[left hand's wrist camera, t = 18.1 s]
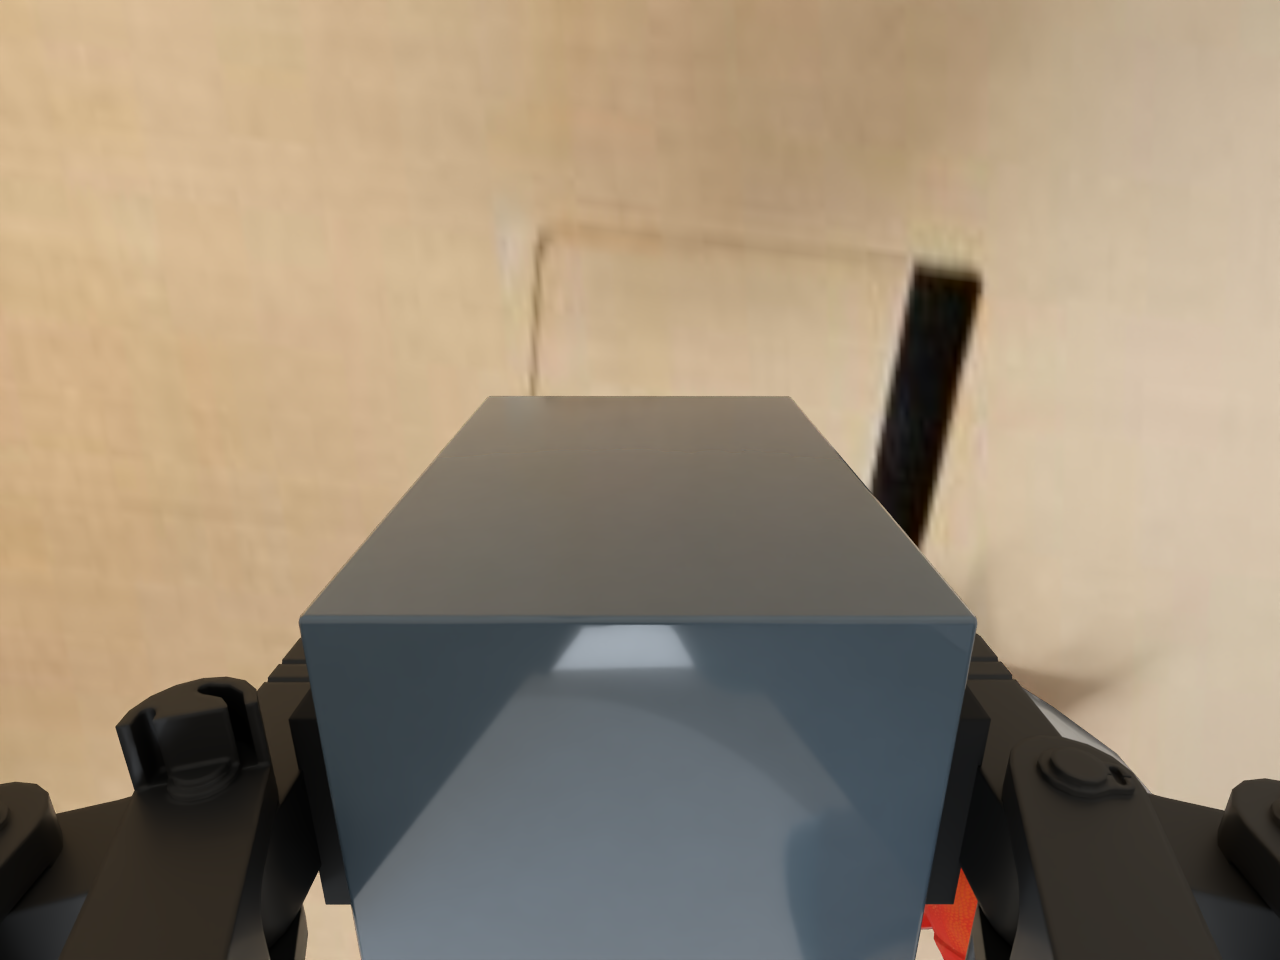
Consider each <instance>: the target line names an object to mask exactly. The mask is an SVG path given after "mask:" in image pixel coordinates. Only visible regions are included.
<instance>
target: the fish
mask: <svg viewBox="0 0 1280 960" xmlns="http://www.w3.org/2000/svg"><path fill="white" fill-rule="evenodd" d="M1023 689H1024V688H1023ZM1024 690H1025V689H1024ZM1025 692H1026V693H1027V694H1028V695H1029V697H1030V698H1031V699H1032V700H1033V701H1034V703H1035V704H1036V705H1037V706H1038V708H1039V709H1040V710H1041V711H1042V713H1043V714H1044V715H1045V716H1046V717H1047V719H1048V720H1049V721H1050V722H1051V724H1052V725H1053V726H1054V727H1055V728H1056V730H1057V731H1058V732H1059V733H1060V735H1061V736H1062V737H1065V738H1068V739H1072V740H1075V741H1079V742H1082V743H1086V744H1089V745H1091V746H1093V747H1095V748H1097V749H1099V750H1101V751H1103V752H1105V753H1107V754H1109V755H1111V756H1113V757H1114V758H1115V759H1117V760H1118V761H1119V762H1120V763H1122V764H1123V765H1124V766H1126V767H1127V768H1128V769H1129V770H1131V769H1130V768H1129V767H1128V766H1127V765H1126V764H1125V763H1124V761H1123V760H1122V759H1121V758H1120V757H1119V756H1118V755H1117V754H1116V753H1115V752H1114V751H1112V750H1111V749H1110V748H1108V747H1107V746H1105V745H1104V744H1103V743H1101V742H1100V741H1099V740H1097V739H1096V738H1095V737H1093V736H1092V735H1091V734H1089V733H1088V732H1086V731H1085V730H1084V729H1082V728H1081V727H1080V726H1078V725H1077V724H1076V723H1074V722H1073V721H1072V720H1070V719H1069V718H1067V717H1066V716H1065V715H1063V714H1062V713H1061V712H1059V711H1058V710H1057V709H1055V708H1054V707H1052V706H1051V705H1049V704H1048V703H1046V702H1044V701H1043V700H1041V699H1040V698H1038V697H1037V696H1035V695H1033V694H1032V693H1030V692H1029V691H1027V690H1025ZM1135 776H1136V775H1135ZM1136 777H1137V776H1136ZM1137 779H1138V780H1139V778H1138V777H1137ZM1139 781H1140V780H1139ZM1140 783H1141V784H1142V785H1143V787H1144V788H1145V789H1146V792H1147V793H1150V794H1152V793H1151V792H1150V791H1149V790H1148V789H1147V788H1146V786H1145V785H1144V784H1143V783H1142V782H1141V781H1140ZM977 902H978V901H977V899H976V897H975V895H974V893H973V891H972V889H971V887H970V885H969V883H968V881H967V878H966V876H965V874H964V872H963V870H962V868H961V870H960V875H959V880H958V885H957V890H956V895H955V900H954V904H925V909H924V914H923V920H922V925H921V929H933V930H934V940H935V942H936V945H937V947H938V948H939V950H940V952H941V954H942V956H943V959H944V960H965V957H966V953H967V948H968V943H969V939H970V934H971V930H972V925H973V920H974V916H975V911H976V907H977Z"/></svg>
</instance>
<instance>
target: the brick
mask: <svg viewBox="0 0 1280 960" xmlns="http://www.w3.org/2000/svg"><path fill="white" fill-rule="evenodd" d="M299 627H300V633H301V638H302V644H303V649H304V654H305V660H306V665H307V671H308V676H309V681H310V687H311V692H312V698H313V703H314V708H315V714H316V719H317V724H318V730H319V735H320V741H321V746H322V751H323V757H324V762H325V768H326V773H327V778H328V784H329V789H330V795H331V800H332V805H333V811H334V816H335V822H336V827H337V832H338V838H339V843H340V849H341V854H342V859H343V865H344V870H345V875H346V881H347V886H348V892H349V897H350V902H351V908H352V913H353V919H354V924H355V929H356V935H357V940H358V946H359V951H360V956H361V960H915V958H916V952H917V947H918V941H919V936H920V931H921V925H922V920H923V914H924V909H925V904H926V898H927V893H928V887H929V882H930V877H931V871H932V866H933V860H934V855H935V850H936V844H937V839H938V833H939V828H940V823H941V817H942V812H943V806H944V801H945V796H946V790H947V785H948V779H949V774H950V769H951V763H952V758H953V752H954V747H955V742H956V736H957V731H958V725H959V720H960V715H961V709H962V704H963V698H964V693H965V688H966V682H967V677H968V671H969V666H970V661H971V655H972V650H973V644H974V639H975V634H976V628H977V619H976V616H975V615H974V614H973V613H972V611H971V610H970V609H969V608H968V607H967V605H966V604H965V603H964V602H963V601H962V600H961V598H960V597H959V596H958V595H957V594H956V592H955V591H954V590H953V589H952V588H951V587H950V585H949V584H948V583H947V582H946V581H945V579H944V578H943V577H942V576H941V575H940V573H939V572H938V571H937V570H936V569H935V568H934V566H933V565H932V564H931V563H930V562H929V560H928V559H927V558H926V557H925V556H924V555H923V553H922V552H921V551H920V550H919V549H918V547H917V546H916V545H915V544H914V543H913V541H912V540H911V539H910V538H909V537H908V536H907V534H906V533H905V532H904V531H903V530H902V528H901V527H900V526H899V525H898V524H897V523H896V521H895V520H894V519H893V518H892V517H891V515H890V514H889V513H888V512H887V511H886V509H885V508H884V507H883V506H882V505H881V504H880V502H879V501H878V500H877V499H876V498H875V496H874V495H873V494H872V493H871V492H870V491H869V489H868V488H867V487H866V486H865V485H864V483H863V482H862V481H861V480H860V479H859V477H858V476H857V475H856V474H855V473H854V472H853V470H852V469H851V468H850V467H849V466H848V464H847V463H846V462H845V461H844V460H843V459H842V457H841V456H840V455H839V454H838V453H837V451H836V450H835V449H834V448H833V447H832V445H831V444H830V443H829V442H828V441H827V440H826V438H825V437H824V436H823V435H822V434H821V432H820V431H819V430H818V429H817V428H816V427H815V425H814V424H813V423H812V422H811V421H810V419H809V418H808V417H807V416H806V415H805V413H804V412H803V411H802V410H801V409H800V408H799V406H798V405H797V404H796V403H795V402H794V400H793V399H792V398H791V397H789V396H489V397H487V398H486V399H485V401H484V402H483V403H482V404H481V405H480V406H479V408H478V409H477V410H476V411H475V412H474V413H473V415H472V416H471V417H470V418H469V419H468V421H467V422H466V423H465V424H464V425H463V426H462V428H461V429H460V430H459V431H458V432H457V433H456V435H455V436H454V437H453V438H452V439H451V440H450V442H449V443H448V444H447V445H446V446H445V447H444V449H443V450H442V451H441V452H440V453H439V454H438V456H437V457H436V458H435V459H434V460H433V461H432V463H431V464H430V465H429V466H428V467H427V468H426V470H425V471H424V472H423V473H422V474H421V475H420V477H419V478H418V479H417V480H416V481H415V482H414V484H413V485H412V486H411V487H410V488H409V489H408V491H407V492H406V493H405V494H404V495H403V496H402V498H401V499H400V500H399V501H398V502H397V503H396V505H395V506H394V507H393V508H392V509H391V510H390V512H389V513H388V514H387V515H386V516H385V518H384V519H383V520H382V521H381V522H380V523H379V525H378V526H377V527H376V528H375V529H374V530H373V532H372V533H371V534H370V535H369V536H368V537H367V539H366V540H365V541H364V542H363V543H362V544H361V546H360V547H359V548H358V549H357V550H356V551H355V553H354V554H353V555H352V556H351V557H350V558H349V560H348V561H347V562H346V563H345V564H344V565H343V567H342V568H341V569H340V570H339V571H338V572H337V574H336V575H335V576H334V577H333V578H332V579H331V581H330V582H329V583H328V584H327V585H326V586H325V588H324V589H323V590H322V591H321V592H320V593H319V595H318V596H317V597H316V598H315V599H314V600H313V602H312V603H311V604H310V605H309V606H308V607H307V609H306V610H305V611H304V612H303V613H302V615H301V616H300V619H299Z"/></svg>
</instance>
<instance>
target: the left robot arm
mask: <svg viewBox="0 0 1280 960" xmlns="http://www.w3.org/2000/svg"><path fill="white" fill-rule="evenodd" d="M116 731H117V734H118V737H119V741H120V744H121V747H122V750H123V754H124V757H125V760H126V764H127V767H128V770H129V773H130V777H131V780H132V783H133V787H134V790H135V791H134V793H133V795H132V796H131V797H127V798H124V799H120V800H116V801H112V802H107V803H103V804H98V805H94V806H89V807H85V808H80V809H76V810H71V811H67V812H62V813H58V814H56V813H55V811H54V808H53V805H52V802H51V799H50V797H49V794H48V792H46V791H45V790H44V789H42V788H41V787H40V786H39V785H37V784H31V783H22V782H11V783H5V784H0V960H305V954H306V946H307V938H308V930H307V923H306V916H305V911H304V907H303V902H304V900H305V897H306V895H307V893H308V891H309V889H310V887H311V885H312V883H313V881H314V879H315V877H316V875H317V873H318V871H319V873H320V878H321V883H322V888H323V893H324V898H325V903H326V904H351V902H350V897H349V892H348V886H347V881H346V875H345V870H344V865H343V859H342V854H341V849H340V843H339V838H338V832H337V827H336V822H335V816H334V811H333V805H332V800H331V795H330V789H329V784H328V778H327V773H326V768H325V762H324V757H323V751H322V746H321V741H320V735H319V730H318V724H317V719H316V714H315V708H314V703H313V698H312V692H311V687H310V681H309V676H308V671H307V665H306V660H305V654H304V649H303V644H302V638H300V639H299V640H298V641H297V642H296V644H295V645H294V646H293V647H292V649H291V650H290V651H289V652H288V654H287V655H286V656H285V657H284V658H283V660H282V664H279V665H278V666H277V667H276V668H275V670H274V671H273V672H272V673H271V675H270V676H269V677H268V682H264V683H263V684H262V686H261V687H260V688H259V689H258V691H256V689H255V688H254V687H253V686H252V685H250V684H249V683H248V682H247V681H245V680H241V679H236V678H231V677H215V678H202V679H198V680H194V681H190V682H186V683H182V684H178V685H175V686H173V687H171V688H168V689H166V690H164V691H162V692H159V693H157V694H155V695H152V696H150V697H149V698H147V699H146V700H144V701H143V702H141V703H140V704H138V705H137V706H136V707H134V708H133V709H131V710H130V711H129V712H128V713H127V714H126V715H125V716H124V717H123V719H122V720H121V721H120V722H119V723H118V724H117V726H116ZM961 868H962V870H963V872H964V874H965V876H966V878H967V881H968V883H969V885H970V887H971V889H972V891H973V893H974V895H975V897H976V899H977V901H978V902H977V907H976V911H975V916H974V920H973V925H972V930H971V934H970V939H969V943H968V948H967V953H966V957H965V960H1280V781H1277V780H1271V779H1255V780H1246V781H1243V782H1242V783H1240V784H1239V785H1238V786H1236V787H1235V788H1234V789H1232V792H1231V795H1230V797H1229V800H1228V803H1227V806H1226V809H1225V811H1223V810H1219V809H1214V808H1210V807H1205V806H1201V805H1196V804H1192V803H1187V802H1182V801H1178V800H1173V799H1169V798H1164V797H1160V796H1157V795H1153V794H1150V793H1147V792H1146V789H1145V788H1144V787H1143V785H1142V784H1141V783H1140V781H1139V780H1138V779H1137V777H1136V776H1135V774H1134V773H1133V772H1132V771H1131V770H1129V769H1128V768H1127V767H1126V766H1124V765H1123V764H1122V763H1120V762H1119V761H1118V760H1117V759H1115V758H1114V757H1113V756H1111V755H1109V754H1107V753H1105V752H1103V751H1101V750H1099V749H1097V748H1095V747H1093V746H1091V745H1089V744H1086V743H1082V742H1079V741H1075V740H1072V739H1068V738H1065V737H1062V736H1061V735H1060V733H1059V732H1058V731H1057V730H1056V728H1055V727H1054V726H1053V725H1052V724H1051V722H1050V721H1049V720H1048V719H1047V717H1046V716H1045V715H1044V714H1043V713H1042V711H1041V710H1040V709H1039V708H1038V706H1037V705H1036V704H1035V703H1034V701H1033V700H1032V699H1031V698H1030V697H1029V695H1028V694H1027V693H1026V692H1025V690H1024V689H1023V688H1022V687H1021V686H1020V684H1019V683H1018V682H1017V681H1016V680H1013V679H1012V674H1011V673H1010V672H1009V671H1008V670H1007V668H1006V667H1005V666H1004V665H1003V663H1002V662H998V657H997V656H996V655H995V654H994V652H993V651H992V650H991V649H990V647H989V646H988V645H987V644H986V643H985V641H984V640H983V639H982V638H981V636H979V635H978V634H975V639H974V644H973V650H972V655H971V661H970V666H969V671H968V677H967V682H966V688H965V693H964V698H963V704H962V709H961V715H960V720H959V725H958V731H957V736H956V742H955V747H954V752H953V758H952V763H951V769H950V774H949V779H948V785H947V790H946V796H945V801H944V806H943V812H942V817H941V823H940V828H939V833H938V839H937V844H936V850H935V855H934V860H933V866H932V871H931V877H930V882H929V887H928V893H927V898H926V904H954V900H955V895H956V890H957V885H958V880H959V875H960V870H961Z"/></svg>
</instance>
